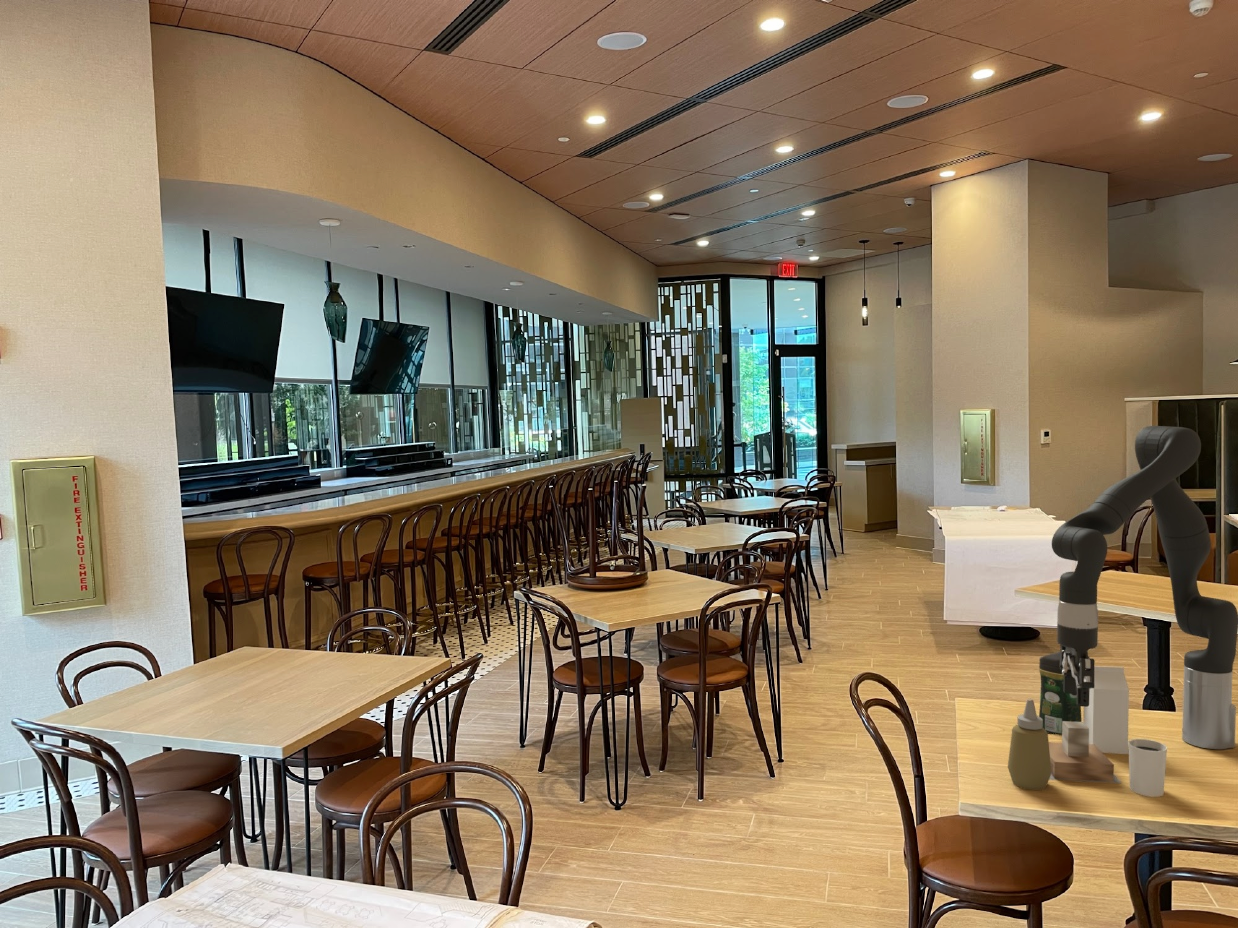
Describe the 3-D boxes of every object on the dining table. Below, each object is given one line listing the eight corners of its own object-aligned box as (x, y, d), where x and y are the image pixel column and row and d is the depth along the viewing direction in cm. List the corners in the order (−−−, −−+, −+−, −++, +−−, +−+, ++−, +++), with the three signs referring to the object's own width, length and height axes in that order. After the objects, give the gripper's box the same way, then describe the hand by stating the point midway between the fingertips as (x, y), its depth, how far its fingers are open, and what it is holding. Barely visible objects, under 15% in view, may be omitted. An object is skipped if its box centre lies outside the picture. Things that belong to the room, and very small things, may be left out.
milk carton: (1127, 757, 195) (1129, 672, 194) (1092, 755, 197) (1094, 670, 195) (1116, 745, 202) (1118, 662, 201) (1082, 743, 204) (1084, 661, 202)
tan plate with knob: (1094, 760, 192) (1095, 716, 191) (1113, 781, 181) (1114, 735, 180) (1038, 757, 194) (1039, 714, 193) (1054, 778, 183) (1055, 733, 182)
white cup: (1152, 786, 180) (1153, 738, 180) (1173, 801, 173) (1175, 750, 173) (1120, 787, 180) (1121, 738, 179) (1140, 801, 173) (1141, 751, 173)
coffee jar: (1054, 721, 218) (1055, 646, 217) (1086, 730, 212) (1088, 653, 211) (1032, 729, 213) (1033, 652, 212) (1064, 739, 206) (1065, 660, 205)
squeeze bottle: (1001, 779, 185) (1001, 693, 184) (1040, 778, 185) (1041, 693, 184) (1017, 795, 177) (1018, 706, 176) (1058, 795, 177) (1059, 706, 175)
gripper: (1109, 631, 178) (1107, 711, 179) (1085, 615, 192) (1083, 689, 193) (1069, 630, 179) (1067, 709, 180) (1048, 614, 193) (1046, 688, 194)
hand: (1075, 699), depth 186 cm, fingers open, 8 cm apart
